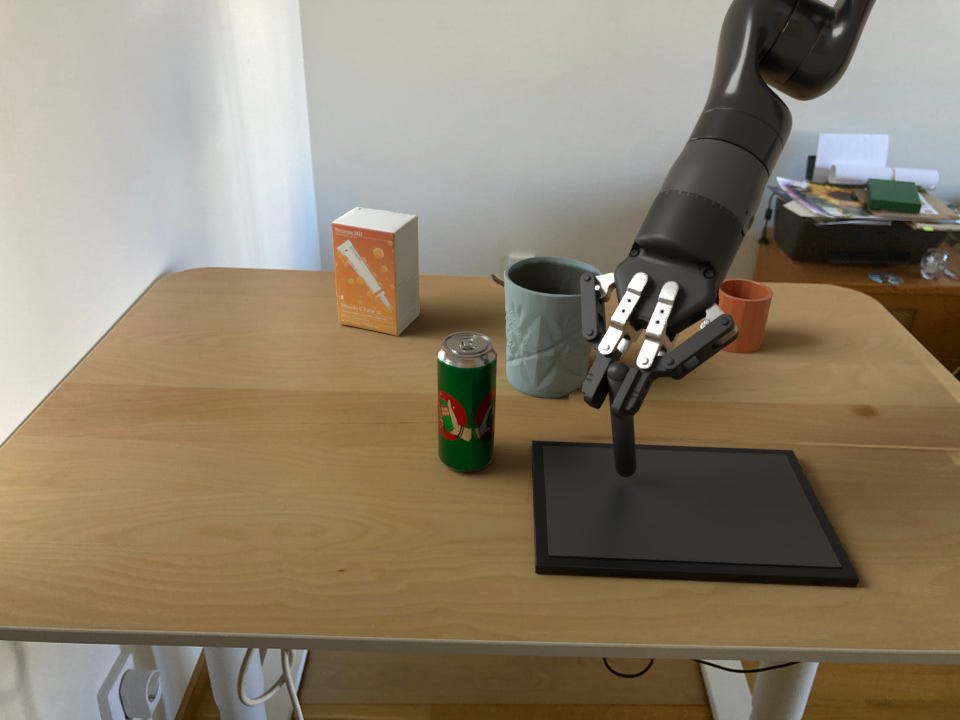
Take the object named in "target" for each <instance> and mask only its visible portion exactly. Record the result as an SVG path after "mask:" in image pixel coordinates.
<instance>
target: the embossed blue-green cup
mask: <svg viewBox="0 0 960 720" xmlns="http://www.w3.org/2000/svg"><path fill="white" fill-rule="evenodd" d="M588 271H589V272H592V273H593V274H594V275H595V276H599V275H603V274H604V273H603V272H602V270H600V269H598V267H596V266H594V265H593V264H590V263H588V262H584V261H581V260H579V259H578V260H577V259H573V258H569V257H562V256H552V255H551V256H550V255H546V256H545V255H544V256H531V257H525V258H521V259H518V260H516V261H514V262H512V263H510V264H509V265H507V267H506V268H505V269H504V272H503V281H504V287H505V288H504V287H503V288H504V301H505V303H504V311H505V314H506V315H505V316H504V317H505V338H506V342H505V343H506V348H505V361H506V364H505V376H506V379H507V382H508V384H509V385H510V386H511V387H512V388H514V389H515V390H517V391H518V392H520V393H522V394H524V395H527V396H531V397H536V398H542V399H543V398H544V399H557V398H563V397H567V396H570V393H571V392H574V391H576V390H578V389H579V388H581V387H582V386H583V383H584V381H585V379H586V377H587V375H588V368H589V362H590V354H591V351H592V348H593V347H592V346H591V345H590V344H589V343H588V341H587V340H586V339H585V338H584V337H583V332H582V310H581V289H580V277H581V275H582V274H583V273H585V272H588Z"/></svg>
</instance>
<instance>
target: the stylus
mask: <svg viewBox="0 0 960 720" xmlns="http://www.w3.org/2000/svg"><path fill="white" fill-rule="evenodd" d="M630 367H631V366H630V365H629V364H628V363H627V362H625V361H623V360H622V361H615V362H613V363H611V364H610V365H609V367H608V369H607V380H608V402H609V415H610V425H611V426H610V427H611V436H612V443H613V450H614V461H615V470H616V472H617V474H618V475H620V476H621V477H625V478H626V477H631V476H632V475H633V474H634V473H635V471H636V449H635V444H636V435H635V434H636V433H635V432H636V431H635V415H634V416H632V415H630V414H629V417H628V418H627V419H626V420H625V421H624V420H622V419H619V418H617V417H615V416H614V415H613V414H612V413H611V406H612V404H613V402H614V400H615V398H616V395H617V393H618V391H619V389H620V387H621V385H622V383H623V381H624V379H625V377H626V375H627V373H628V371H629V369H630Z"/></svg>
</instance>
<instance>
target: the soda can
mask: <svg viewBox="0 0 960 720" xmlns="http://www.w3.org/2000/svg"><path fill="white" fill-rule="evenodd" d="M436 366H437V367H436V369H437V371H436V373H437V374H436V375H437V377H436V378H437V443H438V444H437V451H438V452H437V454H438V458H439V460H440V462H441V463H442V464H443V465H445V466H446V467H447V468H449V469H451V470H452V471H455V472H459V473H474V472H478V471H480V470H482V469H484V468H485V467H487V466H488V465H489V464H490V463H491V462H492V460H493V459H494V456H495V435H496V434H495V433H496V432H495V431H496V429H495V428H496V406H497V405H496V403H497V400H496V399H497V374H498V373H497V372H498V352H497V351H496V349H495V348H494V343H493V340H492V339H491V338H490V337H489V336H488V335H486V334H484V333H480V332H476V331H458V332H453V333H450V334H448V335H446V336H445V337H444V338H442V341H441V346H440V348H439V349H438V350H437V354H436Z"/></svg>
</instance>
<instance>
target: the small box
mask: <svg viewBox="0 0 960 720" xmlns="http://www.w3.org/2000/svg"><path fill="white" fill-rule="evenodd" d="M331 237H332V248H333V249H332V250H333V259H334V260H333V262H334V276H335V277H334V278H335V292H336V305H337V315H338V316H337V317H338V324H339V325H342V326H343V325H344V326H350V327H353V328H354V327H355V328H359V329H363V330H368V331H374V332H379V333H383V334H387V335H392V336H394V337H399V336H400V335H401V334H402V333H403V332H404V331H405V330H406V329H407V328H408V327H409V326H410V325H411V324H412V323H413V322H414V321H415V320H416V319H417V318H418V317H419V316H420V313H421V312H420V267H419V266H420V265H419V264H420V263H419V260H420V259H419V216H418V215H416V214H408V213H401V212H396V211H392V210H385V209H375V208H369V207H363V206H362V207H361V206H355V207H354V208H352V209H350V210H348V211H347V212H345V213H344V214H342V215H340V216H339V217H338V218H336V219H335V220H334V221H332V222H331Z"/></svg>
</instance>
